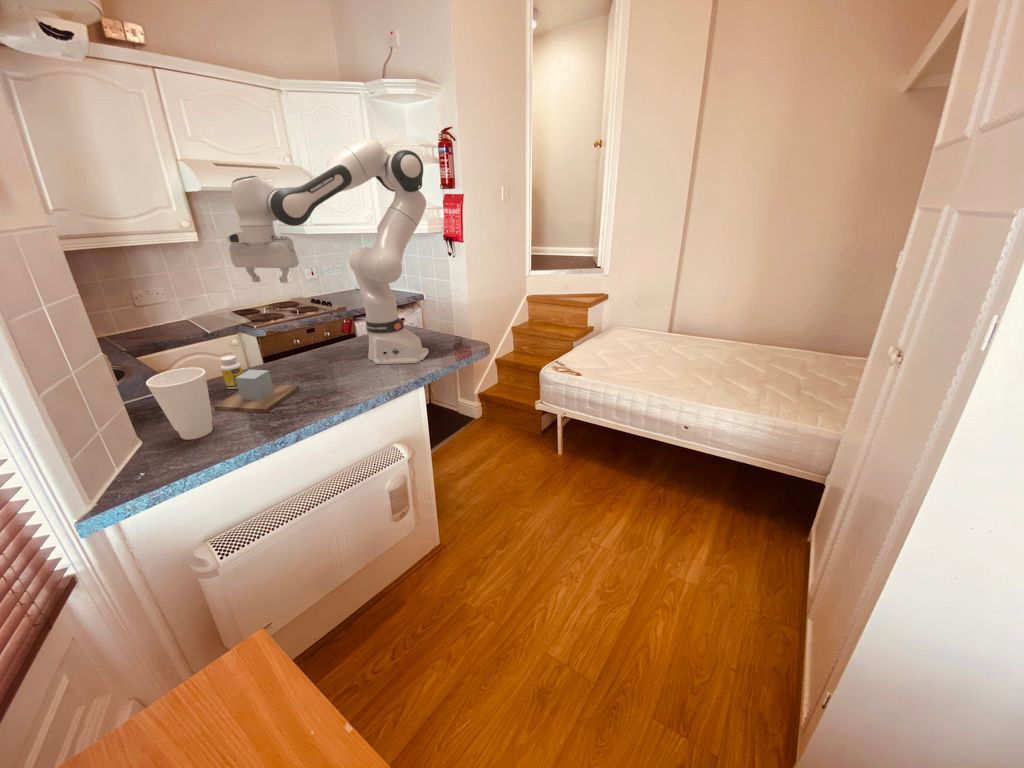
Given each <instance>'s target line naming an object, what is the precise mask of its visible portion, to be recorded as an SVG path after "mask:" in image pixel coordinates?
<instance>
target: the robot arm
mask: <svg viewBox="0 0 1024 768" xmlns="http://www.w3.org/2000/svg"><path fill="white" fill-rule="evenodd" d="M423 176H424V163H423V161H422V159H421V157H420V156H419V155H418V154H417V153H416V152H414V151H412V150H409V149H401V150H398V151H397V152H396V153H392V154H390V153H388V152H387V151H386V149H385V148H384V147H383V145H382V144H381V142H379V141H378V140H377V139H374V138H370V137H369V138H365V139H362V140H358V141H356V142H353V143H351V144H349V145H347V146H345V147H344V148H342V149H340V150H338V151H337V152H336V153H334V154H333V155H332V156H331V157H329V159H328V160H327V163H326V169H325V170H324V171H323V172H322V173H320V174H319V175H318V176H316V177H314V178H312V179H311V180H308V182H306V183H304V184H302V185H300V186H295V187H293V186H291V187H290V186H289V187H279V186H277V185H275V184H272V183H270V182H267V181H266V180H264V179H263V178H261V177H260V176H257V175H249V176H244V177H239V178H236V179H234V180H232V182H231V185H230V186H231V187H230V188H231V189H230V190H231V196H232V202H233V206H234V209H235V212H236V214H237V216H238V219H239V220H238V221H239V229H240V230H237V231H236V232H234V233H230V234H228V235H227V236H226V240H227V242H228V244H229V245H228V250H229V256H230V259H231V263H232V265H233V266H234V267H236V268H239V269H241V268H245V271H246V273H247V275H249V276H250V277H251V281H252V283H260V282H261V277H260V275H257V274H256V272H255V270H256V268H258V269H262V268H265V269H266V268H267V269H279V270H280V272H282V274H281V276H279V277H278V278H279V279H278V280H279V282H280V283H283V284H286V283H288V281H289V279H288V275H289V272H290V269H292V268H297V267H298V266H299V258H298V255H297V253H296V250H295V246H294V242H293V240H292V239H291V238H289V237H288V236H287V235H282V236H281V235H280V236H279V235H276V231H275V226H274V222H275V221H279V222H281V223H283V224H285V225H287V226H291V227H292V226H293V227H295V226H296V227H297V226H301V225H303V224H305V223H306V222H307V221H308V219H310V217H311V215H312V213H313V211H314V210H315V209H316V208H317V207H318V206H320V205H321V204H323V203H324V202H326V201H327V200H329V199H330V198H332V197H334V196H335V195H337V194H338V193H342V192H345V191H349V190H352V189H354V188H357V187H359V186H361V185H363V184H365V183H367V182H368V181H370V180H372V179H373V178H376V179H377V181H378V182H380V184H381V185H382V186H383V187H384V188H385V189H386V190H388V191H390V192H394V198H393V201H392V202H391V204H390V205H389V207H388V208H387V210H386V212H384V215H383V217H382V218H381V220H380V222H379V223H378V224H377V229H376V230H377V234H376V237H375V238H376V239H375V241H374V243H373V246H372V247H367V246H365V247H364V246H363V247H360V248H356V249H355V250H354V251H352V252H351V254H350V256H349V259H348V262H349V266H350V269H351V270H352V271H353V273H354V276H355V278H356V282H357V285H358V287H359V288H358V289H359V290H360V294H361V297H362V301H363V306H364V310H365V311H364V312H365V316H366V320H365V325H366V326H365V327H366V332H367V336H368V354H367V358H368V360H369V361H372V362H373V363H374V364H375V365H393V364H394V365H395V364H398V365H399V364H416V363H420V362H422V361H423V360H425V359H426V358H427V357H428V356H429V354H430V351H429V348H427V347H426V348H425V347H423V345H422V341H421V339H420V337H419V336H418V335H416V334H414V333H413V332H411V331H410V330H408V329H407V328H405V325H404V324H405V323H406V322H405V319H403V320H402V319H401V318H400V317H399V315H398V308H397V301H396V296H395V294H394V293H393V291H392V289H391V286H390V284H392V283H395V282H397V281H398V280H399V279H400V277H401V276H402V273H403V264H402V261H403V257H404V253H405V250H406V249H407V246H408V243H409V242H410V240H411V238H412V236H413V235H414V233H415V231H416V229H417V228H418V225H419V224H420V222H421V220H422V217H423V216H424V213H425V210H426V207H427V200H426V197H425V195H424V194H423V193H422V192H421V191H420V189H421V188H422V187H423ZM428 353H429V354H428ZM427 355H428V356H427ZM426 356H427V357H426ZM425 357H426V358H425ZM424 358H425V359H424ZM421 360H422V361H421Z"/></svg>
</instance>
